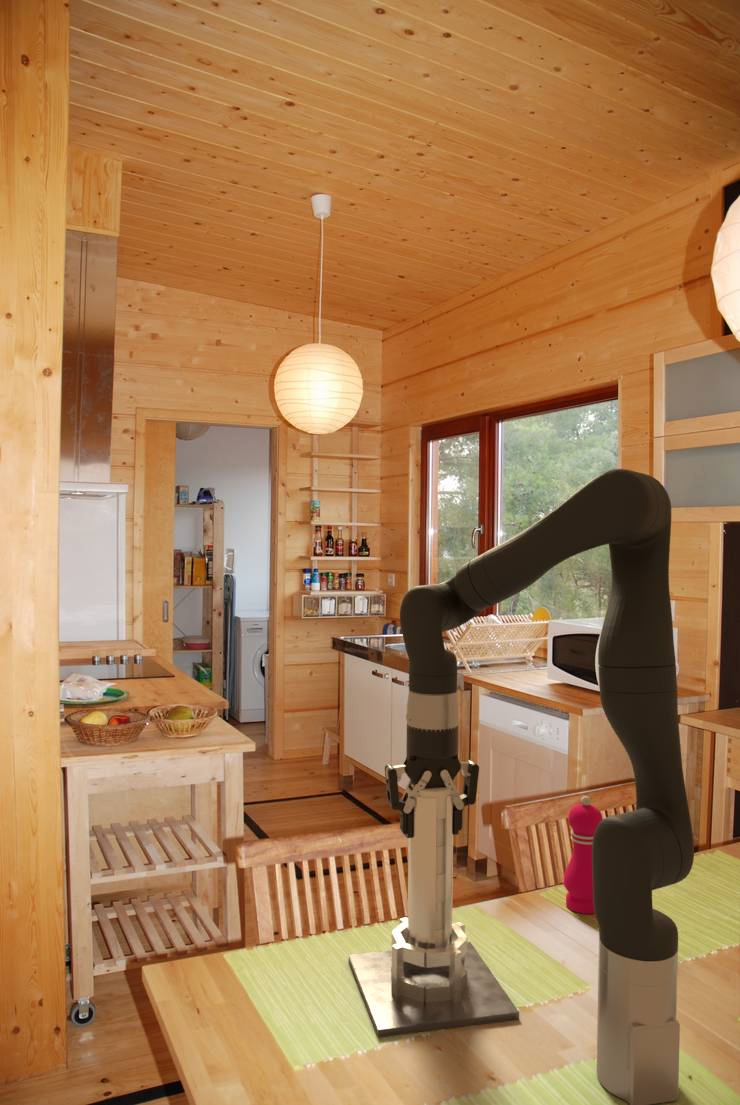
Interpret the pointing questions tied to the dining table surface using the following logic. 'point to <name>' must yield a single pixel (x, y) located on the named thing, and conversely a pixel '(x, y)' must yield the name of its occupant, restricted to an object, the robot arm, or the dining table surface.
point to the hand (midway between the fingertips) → (431, 834)
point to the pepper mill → (581, 857)
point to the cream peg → (431, 870)
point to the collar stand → (429, 986)
